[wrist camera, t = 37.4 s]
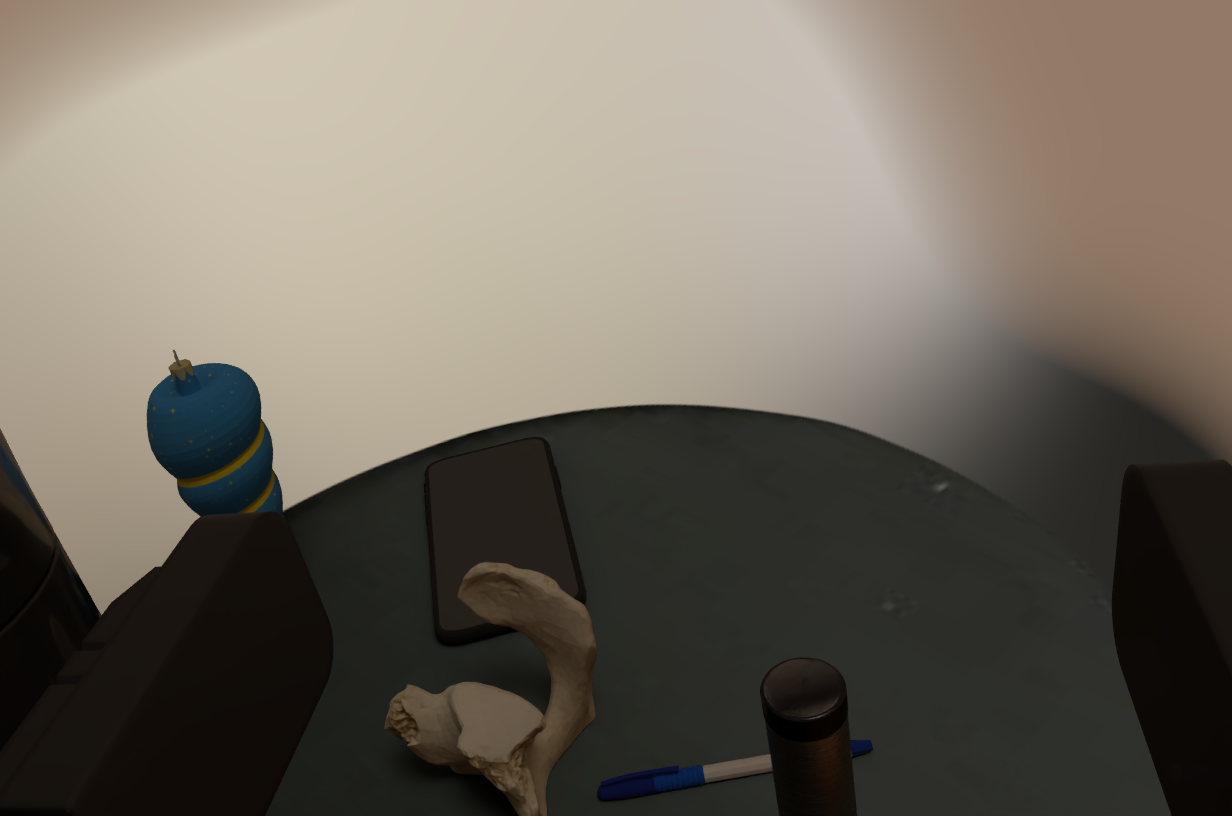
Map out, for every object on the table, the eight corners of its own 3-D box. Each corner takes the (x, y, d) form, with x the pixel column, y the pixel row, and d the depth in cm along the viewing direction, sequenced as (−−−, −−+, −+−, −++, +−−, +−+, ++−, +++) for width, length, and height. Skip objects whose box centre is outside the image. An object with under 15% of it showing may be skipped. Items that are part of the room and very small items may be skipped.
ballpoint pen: (601, 811, 41) (596, 793, 41) (599, 792, 42) (594, 774, 41) (874, 757, 41) (872, 738, 41) (867, 739, 42) (866, 721, 41)
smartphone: (432, 640, 50) (421, 462, 62) (437, 655, 50) (425, 475, 63) (589, 599, 50) (547, 430, 63) (593, 614, 51) (550, 444, 63)
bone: (404, 882, 38) (344, 601, 38) (411, 821, 44) (360, 580, 44) (640, 818, 39) (583, 546, 39) (615, 767, 46) (565, 533, 46)
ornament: (326, 559, 58) (225, 308, 50) (348, 613, 54) (242, 348, 46) (229, 599, 56) (110, 347, 49) (245, 658, 52) (117, 393, 44)
